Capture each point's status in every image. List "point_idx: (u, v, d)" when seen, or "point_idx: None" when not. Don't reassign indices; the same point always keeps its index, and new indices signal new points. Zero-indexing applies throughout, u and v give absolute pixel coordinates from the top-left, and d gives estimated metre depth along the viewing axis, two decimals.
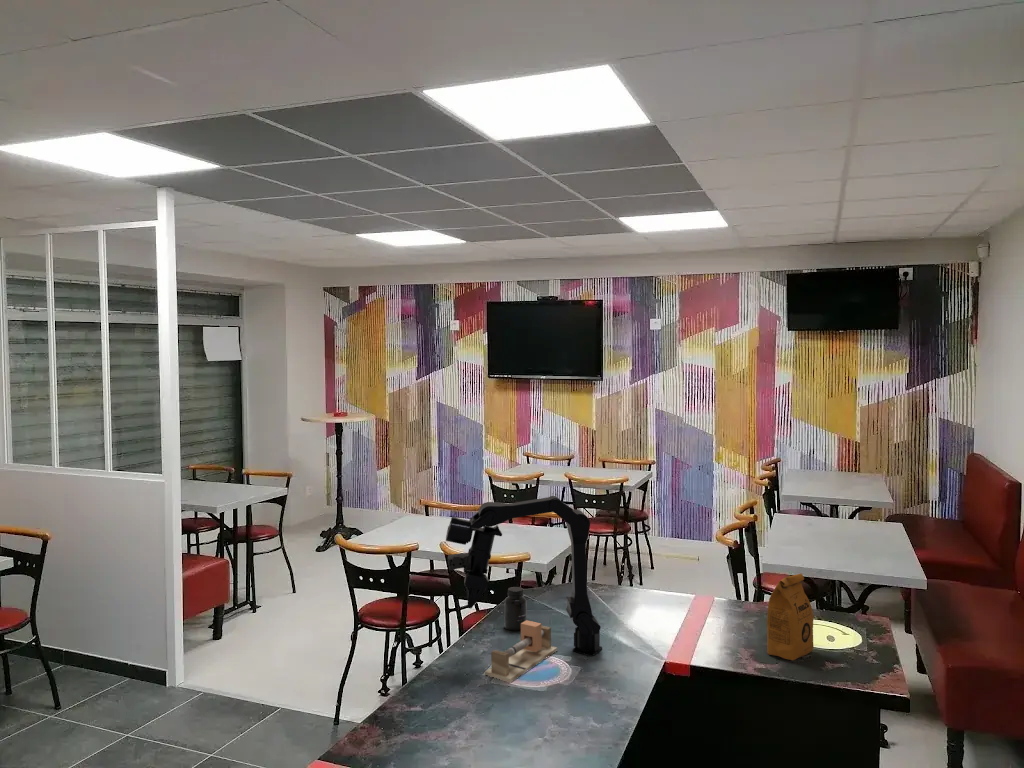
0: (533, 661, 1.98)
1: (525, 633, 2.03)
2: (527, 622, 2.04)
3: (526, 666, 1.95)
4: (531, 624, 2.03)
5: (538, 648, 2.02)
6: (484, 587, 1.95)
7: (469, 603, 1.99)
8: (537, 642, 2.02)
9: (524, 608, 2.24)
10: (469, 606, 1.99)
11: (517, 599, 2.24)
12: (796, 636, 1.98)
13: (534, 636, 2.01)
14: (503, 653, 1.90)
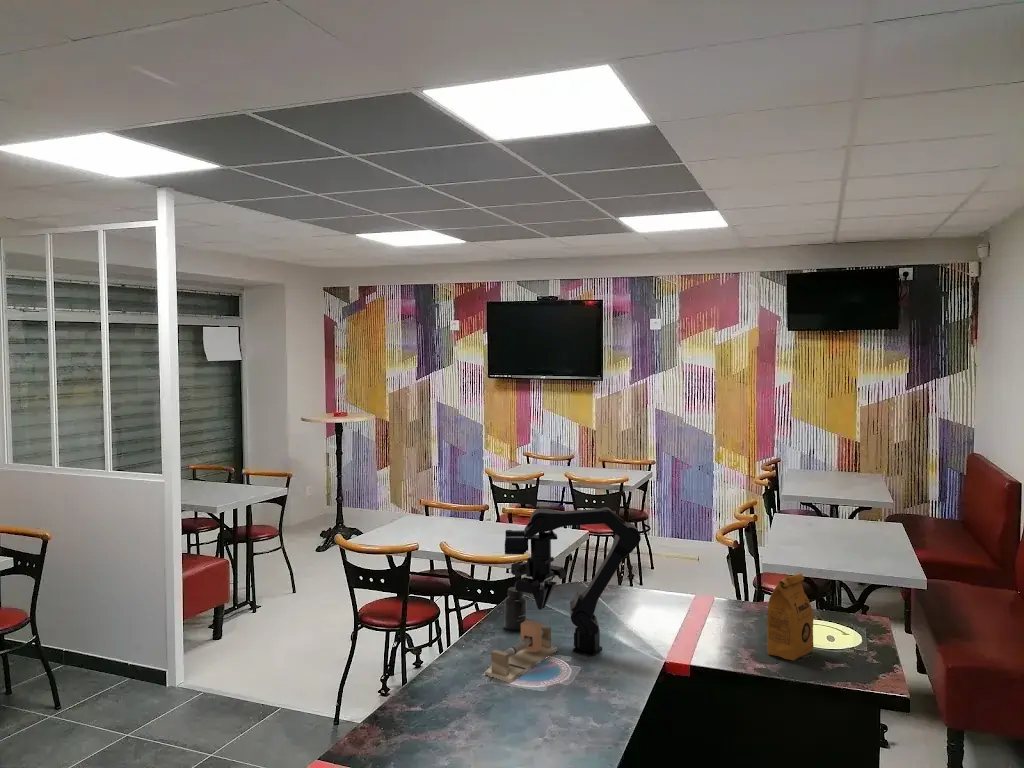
0: (533, 661, 1.98)
1: (525, 633, 2.03)
2: (527, 622, 2.04)
3: (526, 666, 1.95)
4: (531, 624, 2.03)
5: (538, 648, 2.02)
6: (530, 592, 1.99)
7: (538, 604, 2.07)
8: (537, 642, 2.02)
9: (524, 608, 2.24)
10: (538, 607, 2.07)
11: (517, 599, 2.24)
12: (796, 636, 1.98)
13: (534, 636, 2.01)
14: (503, 653, 1.90)
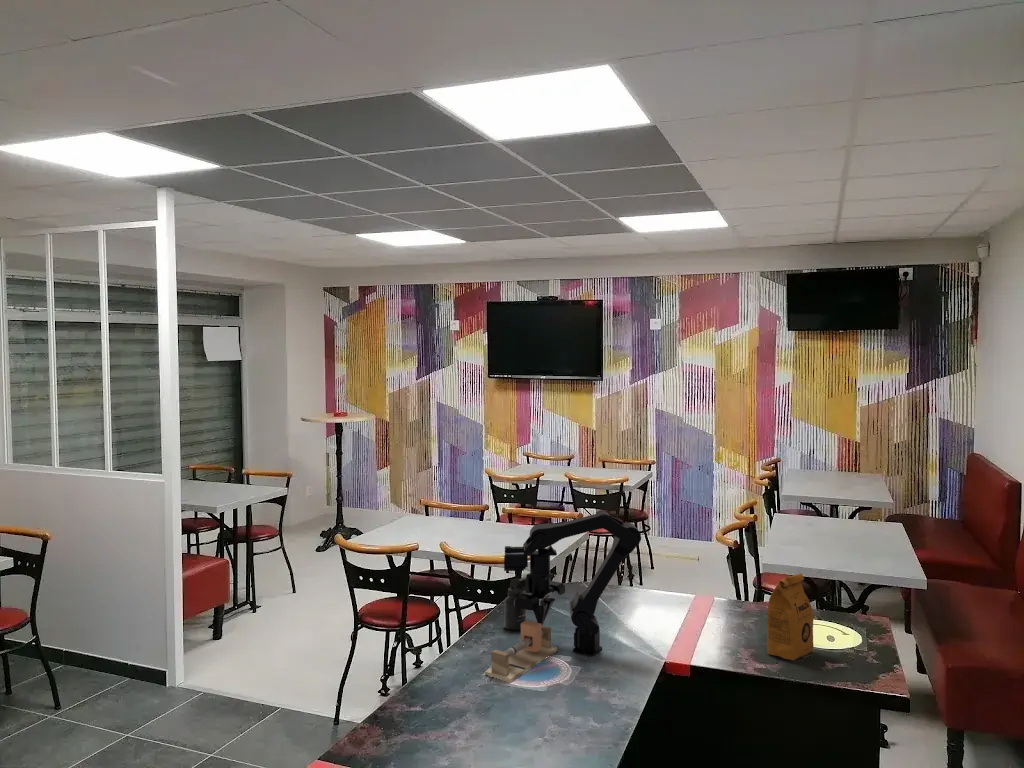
0: (533, 661, 1.98)
1: (525, 633, 2.03)
2: (527, 622, 2.04)
3: (526, 666, 1.95)
4: (531, 624, 2.03)
5: (538, 648, 2.02)
6: (529, 609, 1.98)
7: (538, 620, 2.07)
8: (537, 642, 2.02)
9: None
10: None
11: None
12: (796, 636, 1.98)
13: (534, 636, 2.01)
14: (503, 653, 1.90)
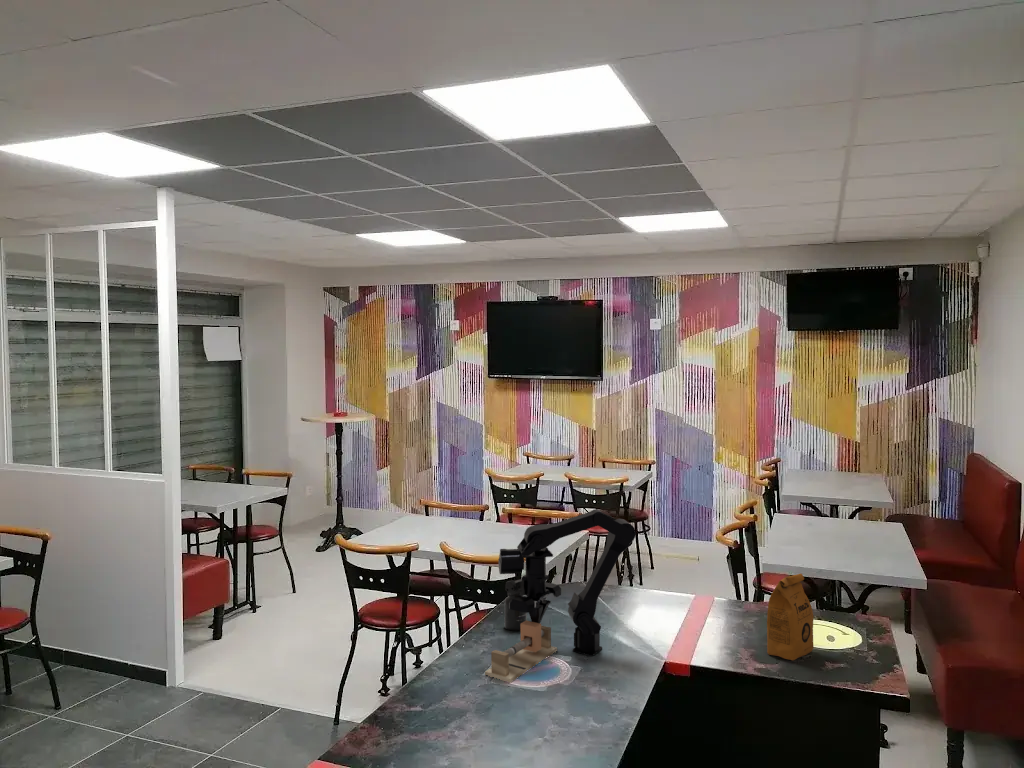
0: (533, 661, 1.98)
1: (525, 633, 2.03)
2: (527, 622, 2.04)
3: (526, 666, 1.95)
4: (530, 624, 2.02)
5: (538, 648, 2.02)
6: (524, 611, 1.97)
7: None
8: (537, 642, 2.02)
9: None
10: None
11: None
12: (796, 636, 1.98)
13: (534, 636, 2.01)
14: (503, 653, 1.90)
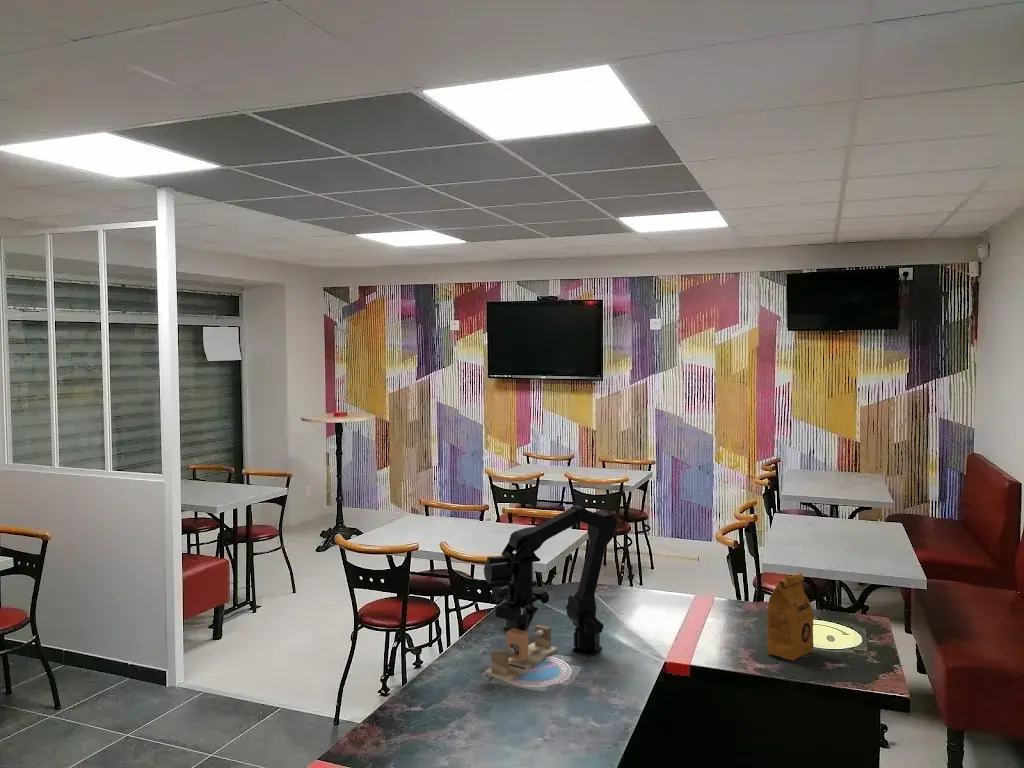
0: (533, 661, 1.98)
1: (511, 641, 1.97)
2: (513, 630, 1.99)
3: (526, 666, 1.95)
4: (517, 632, 1.97)
5: (524, 657, 1.96)
6: (510, 618, 1.91)
7: None
8: (524, 650, 1.96)
9: None
10: None
11: None
12: (796, 636, 1.98)
13: (520, 644, 1.95)
14: (503, 653, 1.90)
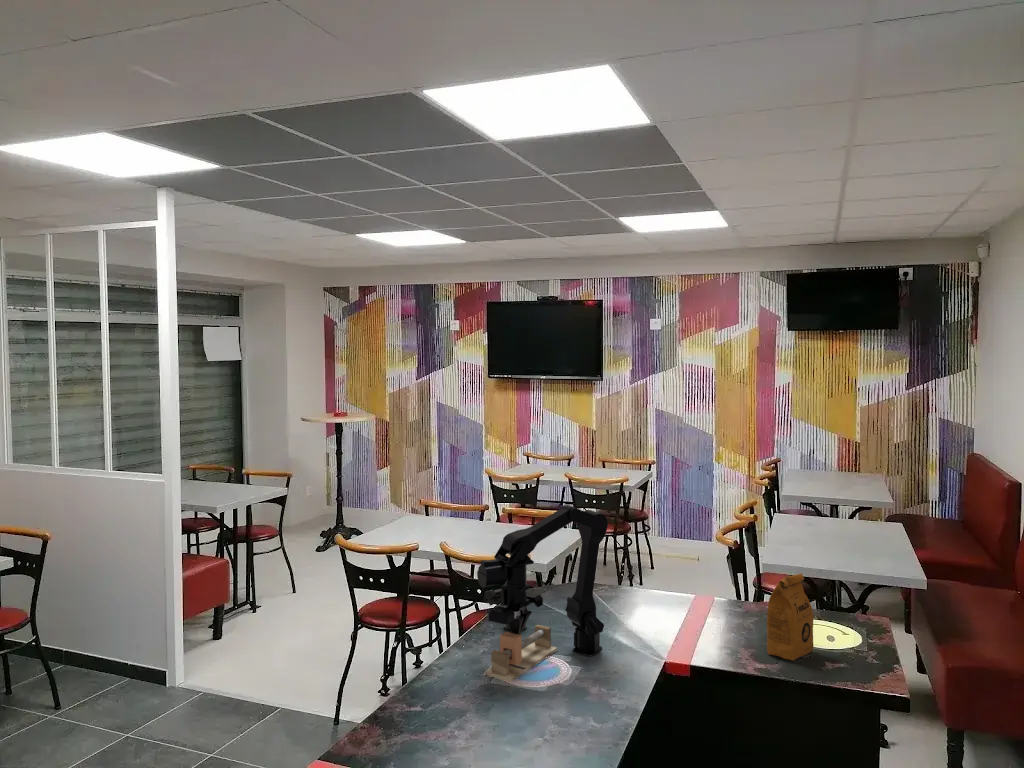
0: (533, 661, 1.98)
1: (504, 645, 1.94)
2: (507, 634, 1.96)
3: (526, 666, 1.95)
4: (510, 636, 1.94)
5: (518, 661, 1.94)
6: (503, 622, 1.88)
7: None
8: (517, 655, 1.93)
9: None
10: None
11: None
12: (796, 636, 1.98)
13: (514, 648, 1.93)
14: (503, 653, 1.90)
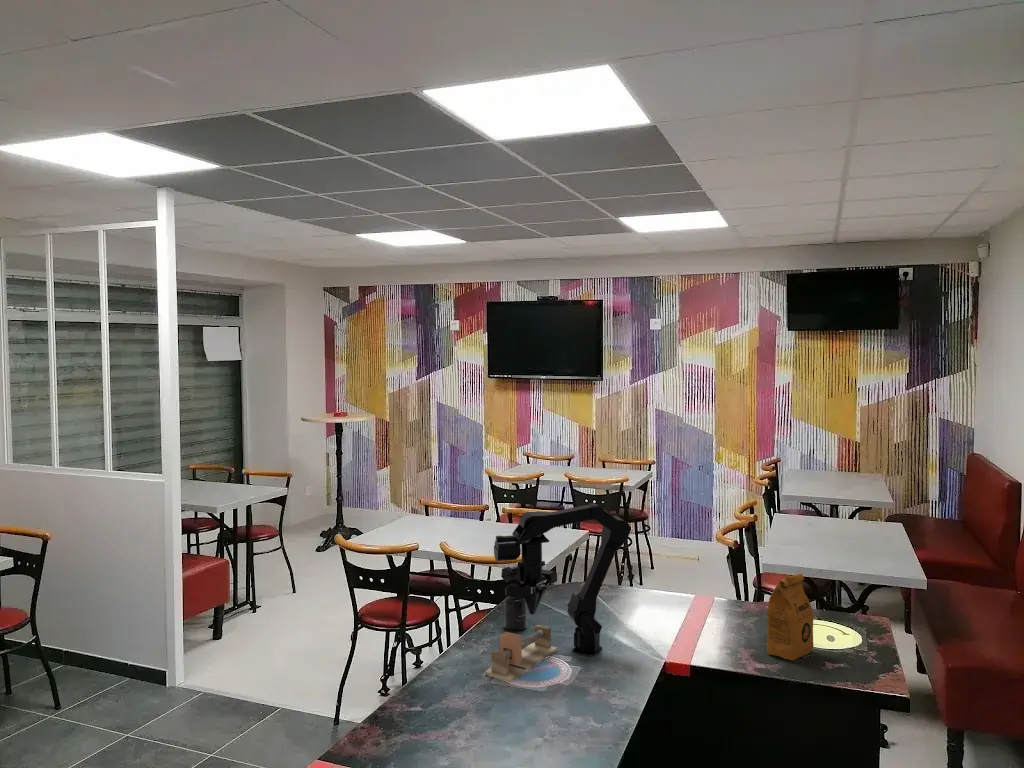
0: (533, 661, 1.98)
1: (504, 645, 1.94)
2: (507, 634, 1.96)
3: (526, 666, 1.95)
4: (510, 636, 1.94)
5: (518, 661, 1.94)
6: (521, 597, 1.95)
7: (530, 609, 2.04)
8: (517, 655, 1.93)
9: (524, 608, 2.24)
10: (530, 612, 2.04)
11: (517, 599, 2.24)
12: (796, 636, 1.98)
13: (514, 649, 1.93)
14: (503, 653, 1.90)
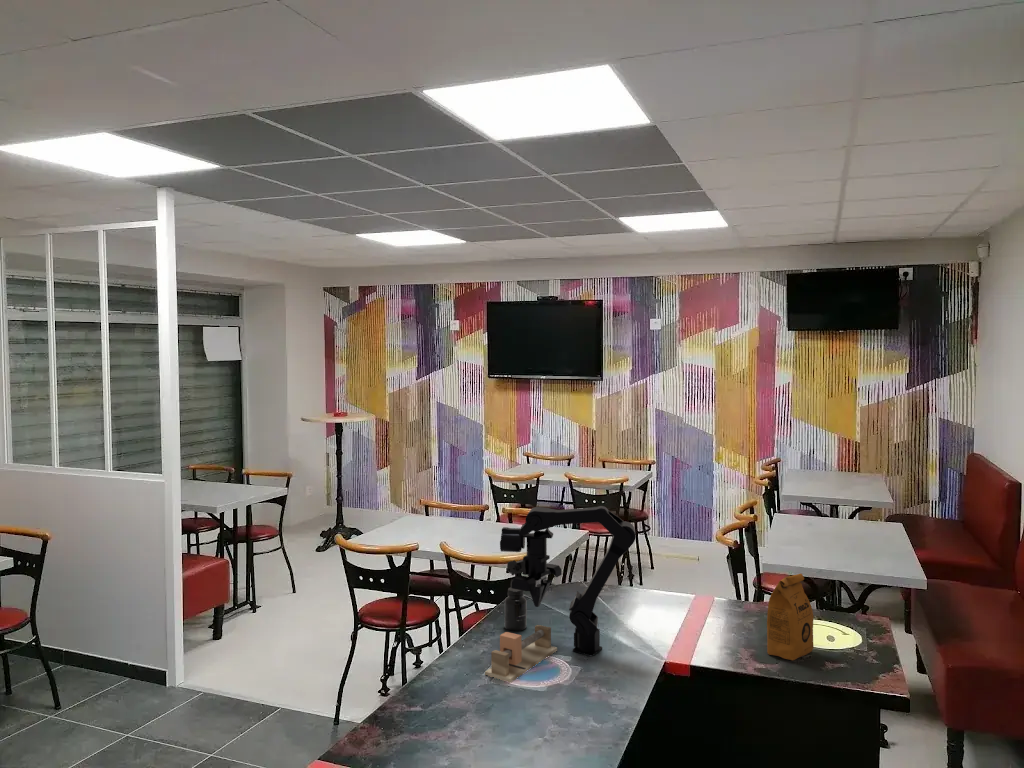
0: (533, 661, 1.98)
1: (504, 645, 1.94)
2: (507, 634, 1.96)
3: (526, 666, 1.95)
4: (510, 636, 1.94)
5: (518, 661, 1.94)
6: (526, 589, 2.01)
7: (534, 602, 2.09)
8: (517, 655, 1.93)
9: (524, 608, 2.24)
10: (535, 605, 2.09)
11: (517, 599, 2.24)
12: (796, 636, 1.98)
13: (514, 649, 1.93)
14: (503, 653, 1.90)
